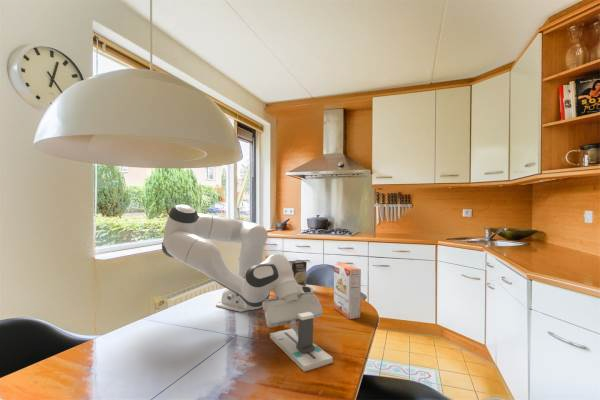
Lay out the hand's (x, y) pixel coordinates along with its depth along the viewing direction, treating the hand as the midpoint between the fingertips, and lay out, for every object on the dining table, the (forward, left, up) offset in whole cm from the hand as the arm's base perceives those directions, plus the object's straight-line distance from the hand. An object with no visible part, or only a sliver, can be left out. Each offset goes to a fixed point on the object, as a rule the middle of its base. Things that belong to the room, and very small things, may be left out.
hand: (301, 334), depth 93 cm
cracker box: (+9, +39, -6) cm, 41 cm away
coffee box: (-22, +65, -6) cm, 69 cm away
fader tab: (+2, -1, -4) cm, 4 cm away
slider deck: (-2, +2, -6) cm, 6 cm away
